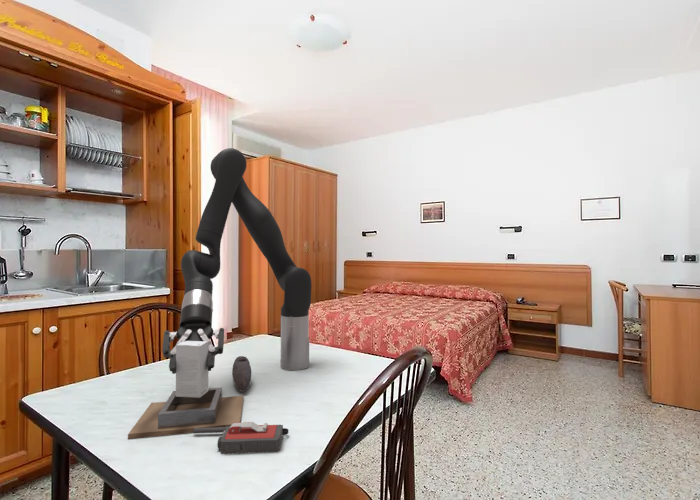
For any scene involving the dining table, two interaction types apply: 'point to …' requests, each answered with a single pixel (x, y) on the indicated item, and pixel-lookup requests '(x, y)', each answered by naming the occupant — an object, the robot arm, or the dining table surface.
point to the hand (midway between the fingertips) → (191, 370)
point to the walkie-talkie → (247, 437)
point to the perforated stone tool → (241, 373)
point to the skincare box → (192, 368)
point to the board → (149, 426)
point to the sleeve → (192, 416)
